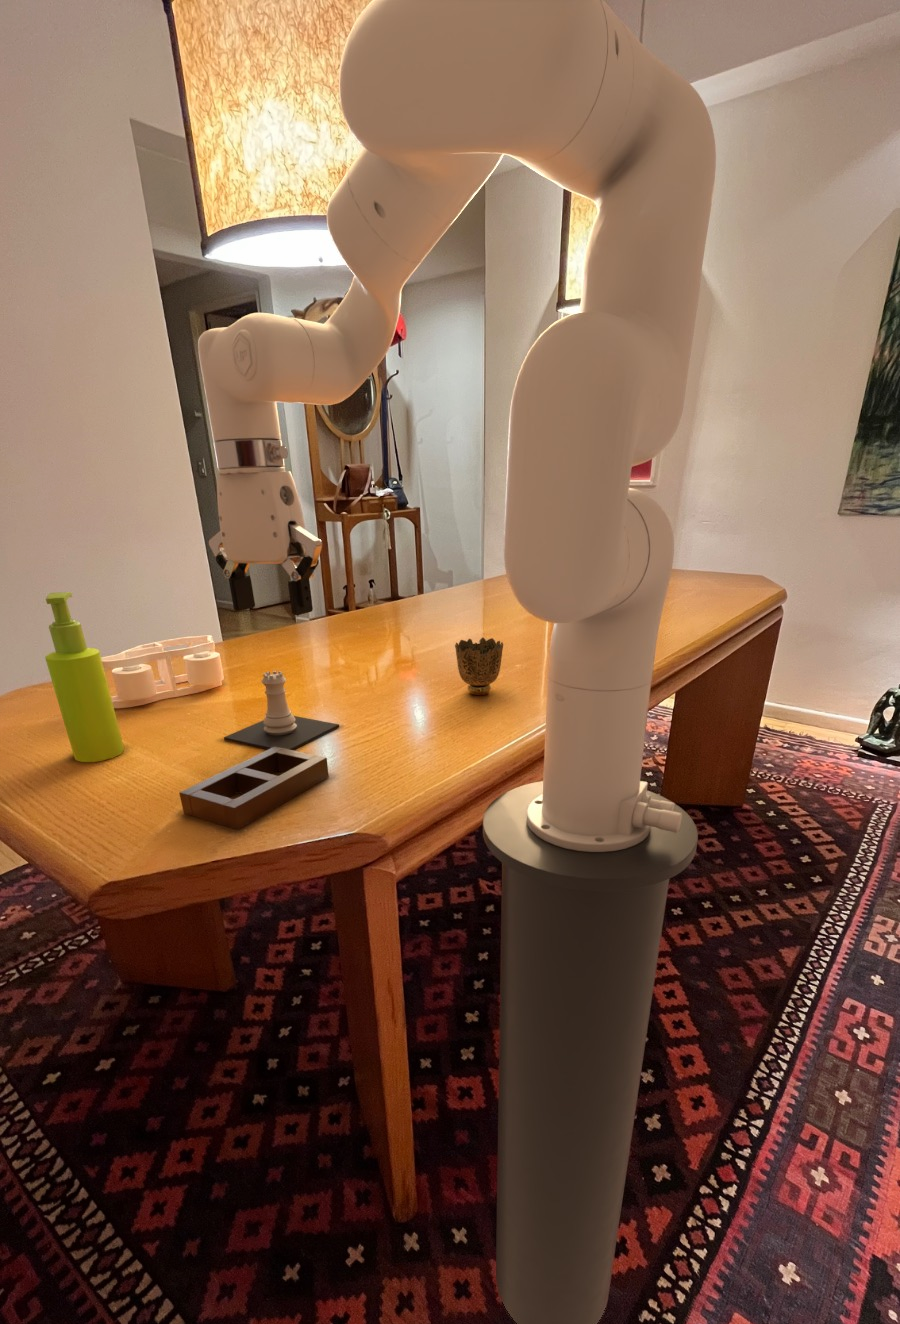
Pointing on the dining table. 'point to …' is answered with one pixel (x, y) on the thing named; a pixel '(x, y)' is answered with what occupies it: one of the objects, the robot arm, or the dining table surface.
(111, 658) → the skeletal toy car
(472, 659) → the cup
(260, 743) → the coaster
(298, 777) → the holder
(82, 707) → the soap dispenser
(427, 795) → the dining table surface
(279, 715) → the rook chess piece
